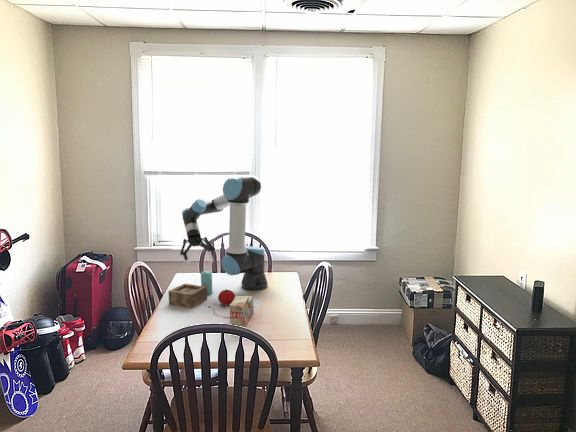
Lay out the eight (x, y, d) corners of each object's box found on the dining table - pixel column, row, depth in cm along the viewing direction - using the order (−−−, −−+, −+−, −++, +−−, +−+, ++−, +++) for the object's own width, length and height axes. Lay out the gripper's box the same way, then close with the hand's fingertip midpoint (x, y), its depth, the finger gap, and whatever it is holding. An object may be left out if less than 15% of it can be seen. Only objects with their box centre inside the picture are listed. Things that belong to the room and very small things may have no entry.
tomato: (214, 304, 262) (214, 289, 260) (227, 299, 268) (227, 285, 267) (225, 308, 256) (225, 293, 254) (238, 303, 262) (238, 289, 261)
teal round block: (214, 292, 280) (213, 271, 278) (208, 295, 275) (207, 274, 273) (205, 290, 283) (204, 270, 280) (199, 294, 277) (198, 273, 275)
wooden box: (206, 299, 268) (206, 286, 267) (191, 308, 256) (191, 294, 254) (185, 296, 274) (184, 283, 273) (169, 304, 261) (168, 291, 260)
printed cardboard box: (241, 313, 249) (240, 289, 247) (253, 314, 248) (253, 290, 246) (229, 330, 229) (229, 304, 226) (243, 331, 228) (243, 305, 225)
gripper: (212, 233, 304) (220, 263, 293) (170, 237, 294) (177, 269, 283) (214, 226, 298) (223, 257, 288) (172, 230, 288) (179, 262, 277)
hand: (200, 263), depth 285 cm, fingers open, 13 cm apart
